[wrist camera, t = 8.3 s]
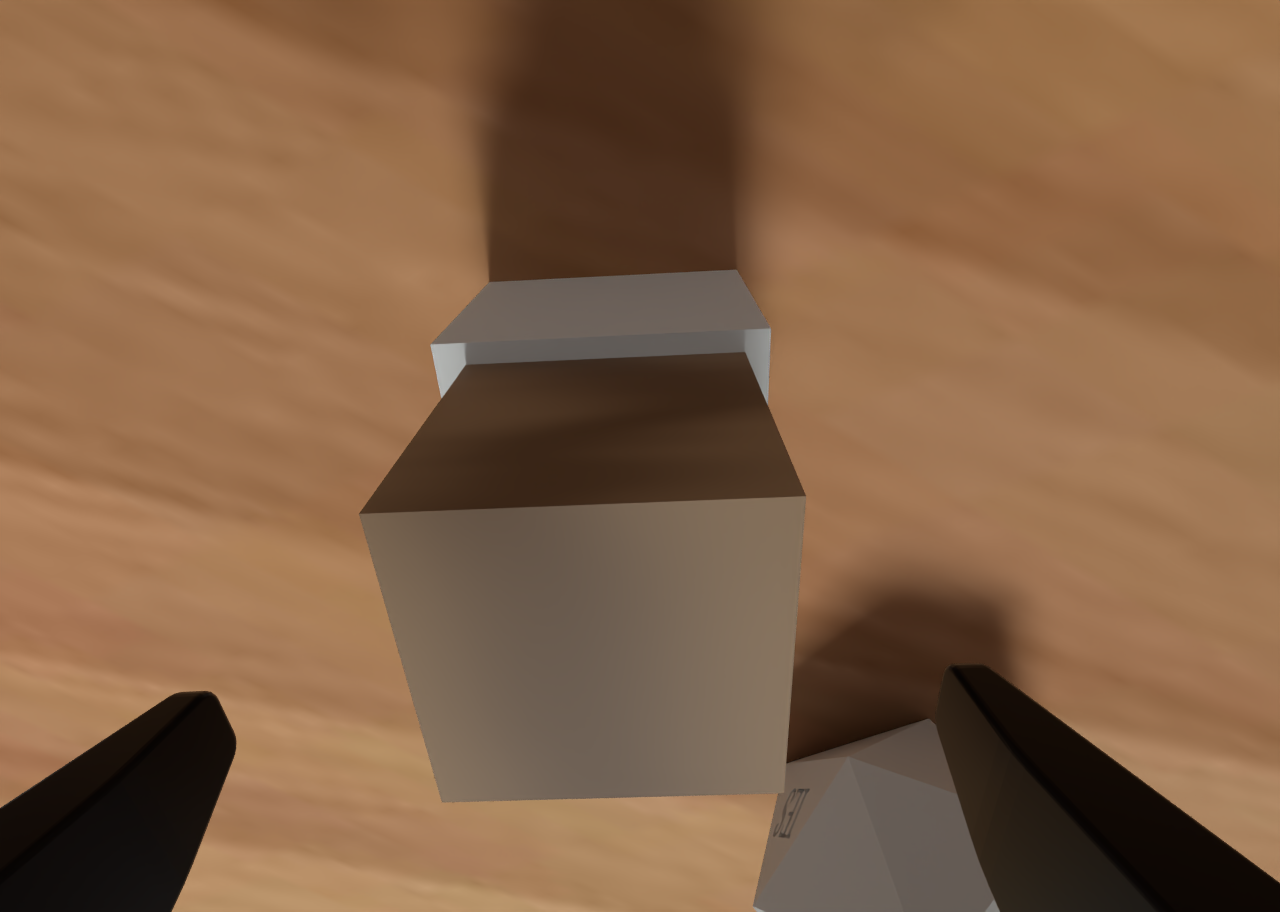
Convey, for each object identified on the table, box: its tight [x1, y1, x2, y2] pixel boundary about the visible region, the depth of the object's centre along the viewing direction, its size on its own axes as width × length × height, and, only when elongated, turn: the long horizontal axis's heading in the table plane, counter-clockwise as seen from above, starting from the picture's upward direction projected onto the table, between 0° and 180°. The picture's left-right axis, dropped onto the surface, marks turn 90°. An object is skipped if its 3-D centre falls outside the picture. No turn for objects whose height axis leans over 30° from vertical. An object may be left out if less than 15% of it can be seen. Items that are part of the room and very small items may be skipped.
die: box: [753, 719, 1000, 912], centre depth 20 cm, size 8×9×10 cm
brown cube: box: [359, 352, 806, 802], centre depth 11 cm, size 5×5×5 cm
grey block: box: [431, 270, 771, 405], centre depth 15 cm, size 6×6×5 cm
